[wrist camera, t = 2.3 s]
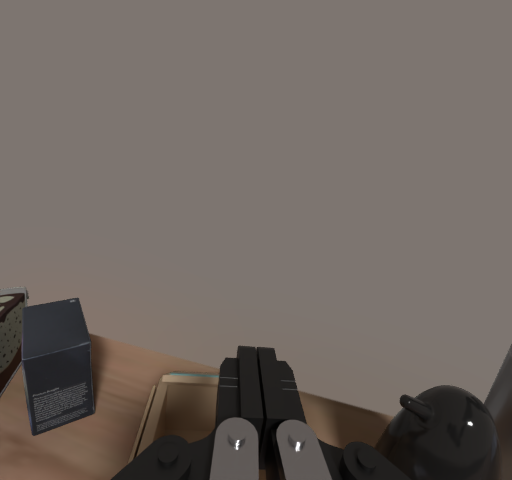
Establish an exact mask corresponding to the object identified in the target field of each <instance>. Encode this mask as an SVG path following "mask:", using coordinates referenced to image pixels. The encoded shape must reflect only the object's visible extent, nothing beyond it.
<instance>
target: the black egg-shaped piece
mask: <svg viewBox="0 0 512 480" xmlns="http://www.w3.org/2000/svg"><path fill="white" fill-rule="evenodd" d="M400 404H401V406H402V407H403V408H402V409H401V411H399V413H398V414H397V415H396V416H395V417H394V418H393V419H392V420H391V422H390V423H389V424H388V426H387V427H386V429H385V430H384V432H383V433H382V435H381V437H380V438H379V440H378V442H377V444H376V446H375V448H374V449H376V450H377V451H378V452H379V453H380V454H382V455H383V456H384V457H385V458H386V459H387V460H389V461H390V462H391V463H392V464H393V465H395V466H396V467H397V468H398V469H399V470H401V471H402V472H403V473H404V474H405V475H407V476H408V477H409V478H410V479H411V480H502V454H501V445H500V440H499V435H498V431H497V428H496V425H495V422H494V420H493V417H492V415H491V414H490V412H489V410H488V409H487V408H486V406H485V405H484V404H483V403H482V402H481V401H480V400H479V399H478V398H476V397H475V396H474V395H472V394H471V393H470V392H468V391H466V390H464V389H461V388H458V387H455V386H449V385H443V386H437V387H434V388H431V389H429V390H426V391H424V392H423V393H421V394H419V395H418V396H416V397H415V398H413V397H410V396H408V395H402V396H401V398H400Z"/></svg>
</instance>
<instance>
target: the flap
mask: <svg viewBox="0 0 512 480" xmlns="http://www.w3.org/2000/svg"><path fill="white" fill-rule="evenodd" d="M218 381H219V373H202V372H184V371H173V372H170V373H167V374H164V375H163V379H162V382H182V383H202V384H218Z"/></svg>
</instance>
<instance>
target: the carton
mask: <svg viewBox="0 0 512 480" xmlns="http://www.w3.org/2000/svg"><path fill="white" fill-rule="evenodd" d="M162 379H163V377H160V381H159V384H158V387H157V390H156V385H153V387H152V390H151V393H150V397H149V400H148V403H147V406H146V409H145V412H144V415H143V418H142V421H141V424H140V427H139V430H138V434H137V437H136V440H135V443H134V446H133V449H132V452H131V455H130V458H129V461H128V464H129V463H130V462H131V461H132V460H133V459H134V458H136V457H137V456H138V455H139V454H140V453H141V452H142V451H143V450H145V449H146V448H147V447H148V446H149V445H150V444H151V443H153V442H154V441H155V440H157V439H158V438H160V437H163V436H167V435H177V436H180V437H182V438H184V439H185V440H186V441H187V442H188V443H192V442H195V441H199V440H201V439H203V438H205V437H207V436H208V435H209V434H210V433H211V432H212V431H213V430H214V428H215V417H216V400H217V389H218V384H202V383H182V382H162ZM128 464H127V465H128ZM259 480H266V471H265V470H259Z"/></svg>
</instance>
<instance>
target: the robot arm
mask: <svg viewBox="0 0 512 480" xmlns="http://www.w3.org/2000/svg"><path fill="white" fill-rule="evenodd" d="M484 405H485V406H486V408H487V409H488V410H489V412H490V414H491V415H492V417H493V420H494V422H495V425H496V428H497V431H498V435H499V440H500V445H501V454H502V480H512V344H511V346H510V349H509V351H508V353H507V355H506V357H505V359H504V362H503V364H502V366H501V368H500V370H499V373H498V374H497V377H496V379H495V381H494V383H493V385H492V387H491V389H490V392H489V394H488V396H487V398H486V400H485V402H484ZM259 470H265V471H266V480H411V479H410V478H409V477H408V476H407V475H405V474H404V473H403V472H402V471H401V470H399V469H398V468H397V467H396V466H395V465H393V464H392V463H391V462H390V461H389V460H387V459H386V458H385V457H384V456H383V455H382V454H380V453H379V452H378V451H377V450H376V449H374V448H373V447H371V446H370V445H368V444H365V443H362V442H351V443H349V444H348V445H346V447H345V449H344V450H343V449H340V448H337V447H335V446H332V445H329V444H326V443H324V442H322V441H321V440H319V439H318V438H317V437H316V434H315V433H314V431H313V430H312V429H311V428H310V427H309V426H308V425H307V423H306V420H305V416H304V412H303V408H302V405H301V401H300V397H299V393H298V391H297V386H296V383H295V378H294V374H293V370H292V369H291V368H290V367H289V365H288V364H287V363H286V361H277V360H276V354H275V350H274V348H265V347H257V349H256V348H255V347H249V346H238V351H237V358H225V360H224V361H223V363H222V364H221V366H220V373H219V381H218V389H217V400H216V417H215V428H214V430H213V431H212V432H211V433H210V434H209V435H208V436H207V437H205V438H203V439H201V440H199V441H195V442H192V443H188V442H187V441H186V440H185V439H184V438H182V437H180V436H177V435H167V436H163V437H160V438H158V439H157V440H155V441H154V442H153V443H151V444H150V445H149V446H148V447H147V448H146V449H145V450H143V451H142V452H141V453H140V454H139V455H138V456H137V457H136V458H134V459H133V460H132V461H131V462H130V463H129V464H128V465H127V466H125V467H124V468H123V469H122V470H121V471H120V472H119V473H118V474H116V475H115V476H114V477H113V478H112V479H111V480H259Z"/></svg>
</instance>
